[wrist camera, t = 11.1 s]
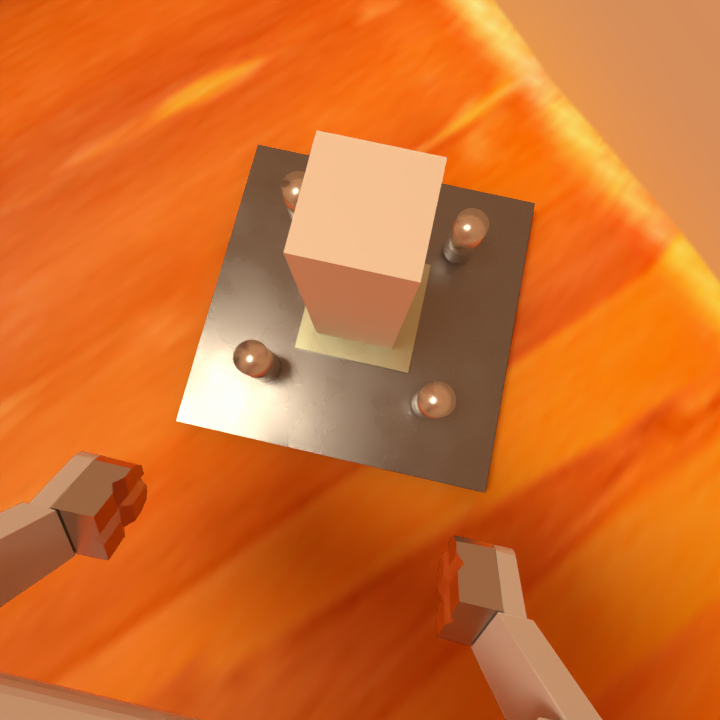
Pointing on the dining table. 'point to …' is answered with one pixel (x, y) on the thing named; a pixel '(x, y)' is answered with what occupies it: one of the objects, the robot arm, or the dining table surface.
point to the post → (362, 235)
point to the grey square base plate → (359, 360)
